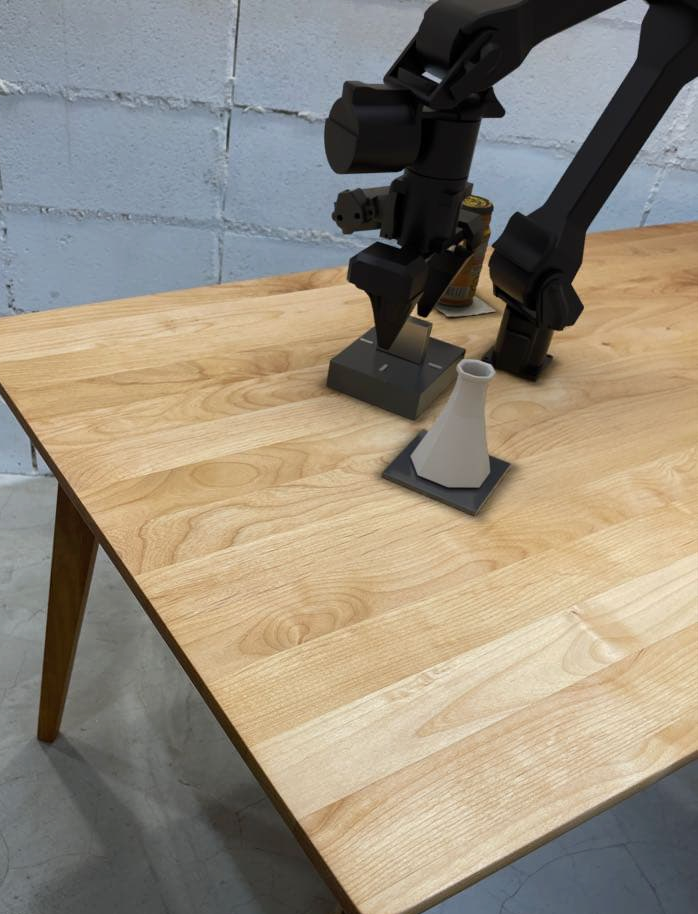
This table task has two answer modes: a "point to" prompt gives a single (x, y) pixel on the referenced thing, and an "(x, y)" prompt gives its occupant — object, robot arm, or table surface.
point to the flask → (459, 432)
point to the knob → (411, 340)
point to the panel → (394, 375)
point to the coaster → (456, 497)
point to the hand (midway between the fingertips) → (403, 331)
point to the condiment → (469, 269)
